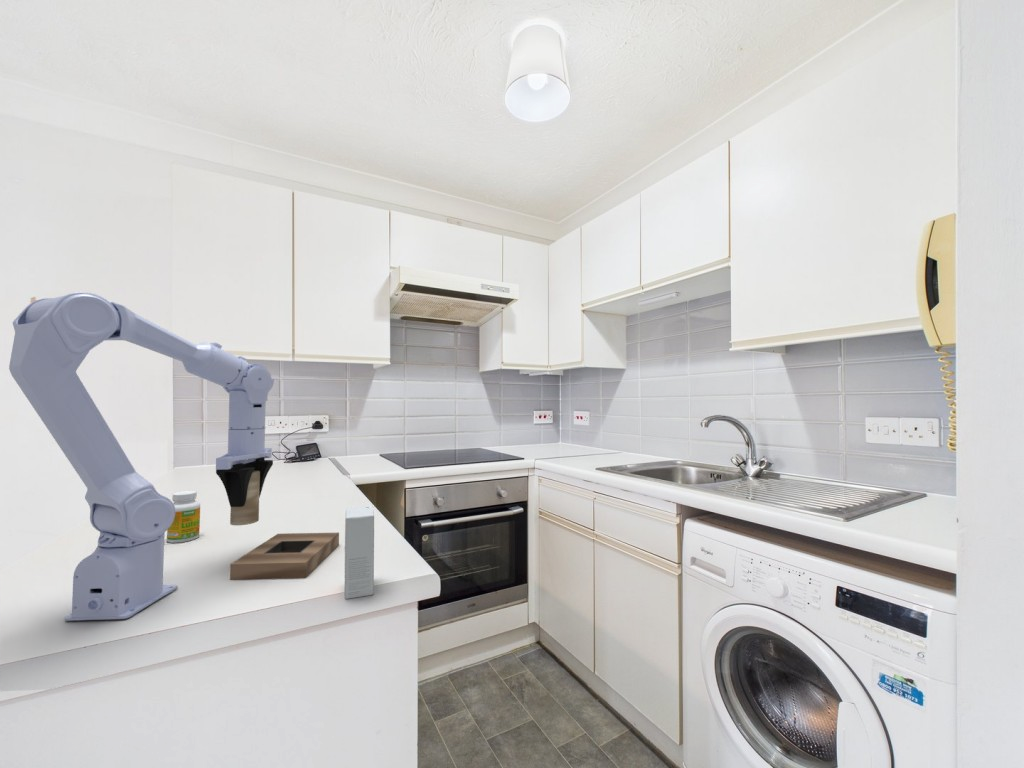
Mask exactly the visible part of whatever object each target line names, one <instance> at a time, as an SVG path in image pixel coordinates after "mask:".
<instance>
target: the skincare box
mask: <svg viewBox="0 0 1024 768" xmlns="http://www.w3.org/2000/svg"><path fill="white" fill-rule="evenodd" d="M374 511H375V510H374V507H373V506H371V505H370V506H359V507H348V508H346V509H345V520H344V521H345V525H344V526H345V527H344V599H345V600H350V599H355V598H360V597H368V596H372V595H374V594H375V592H374V590H375V578H374V577H375V514H374Z"/></svg>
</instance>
